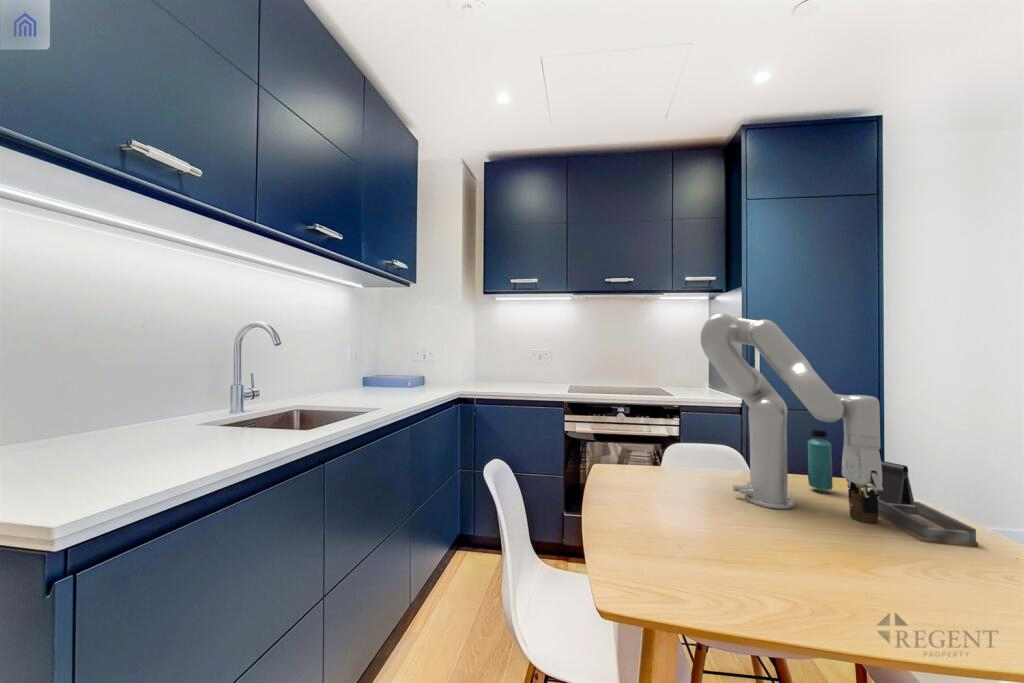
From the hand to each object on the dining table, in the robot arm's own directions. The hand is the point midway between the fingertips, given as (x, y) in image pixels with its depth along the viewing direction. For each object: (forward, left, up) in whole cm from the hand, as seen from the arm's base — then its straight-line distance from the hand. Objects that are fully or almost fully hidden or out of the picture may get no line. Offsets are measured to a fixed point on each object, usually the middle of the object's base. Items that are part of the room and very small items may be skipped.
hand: (862, 507), depth 110 cm
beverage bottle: (0, +23, -3) cm, 23 cm away
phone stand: (+16, +16, -3) cm, 23 cm away
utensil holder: (0, 0, -3) cm, 3 cm away
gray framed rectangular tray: (+11, -3, -3) cm, 12 cm away
